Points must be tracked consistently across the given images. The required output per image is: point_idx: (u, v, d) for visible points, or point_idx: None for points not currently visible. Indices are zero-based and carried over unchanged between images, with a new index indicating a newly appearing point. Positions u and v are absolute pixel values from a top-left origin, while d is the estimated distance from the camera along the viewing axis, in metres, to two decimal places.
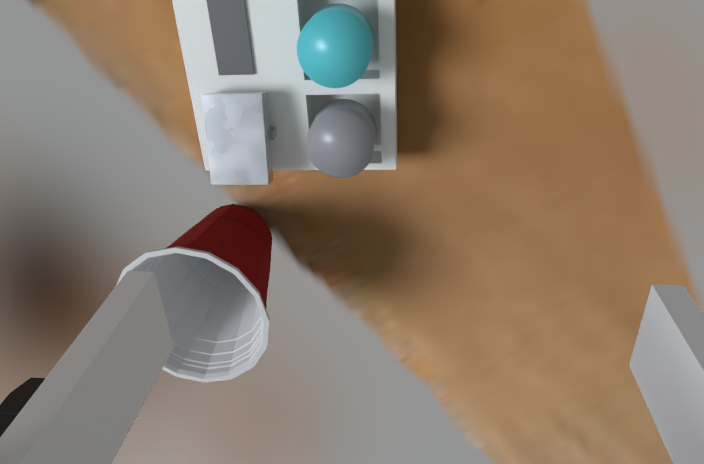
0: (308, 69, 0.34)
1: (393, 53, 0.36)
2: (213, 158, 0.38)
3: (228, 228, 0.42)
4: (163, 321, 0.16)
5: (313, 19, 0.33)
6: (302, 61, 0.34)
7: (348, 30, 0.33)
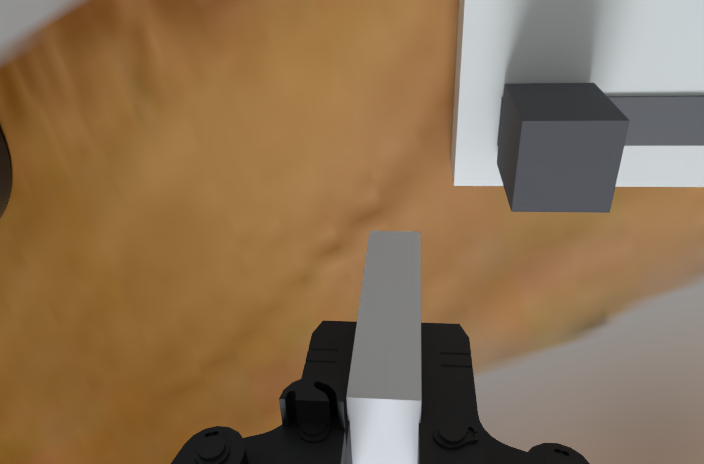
0: None
1: None
2: None
3: None
4: None
5: None
6: None
7: None
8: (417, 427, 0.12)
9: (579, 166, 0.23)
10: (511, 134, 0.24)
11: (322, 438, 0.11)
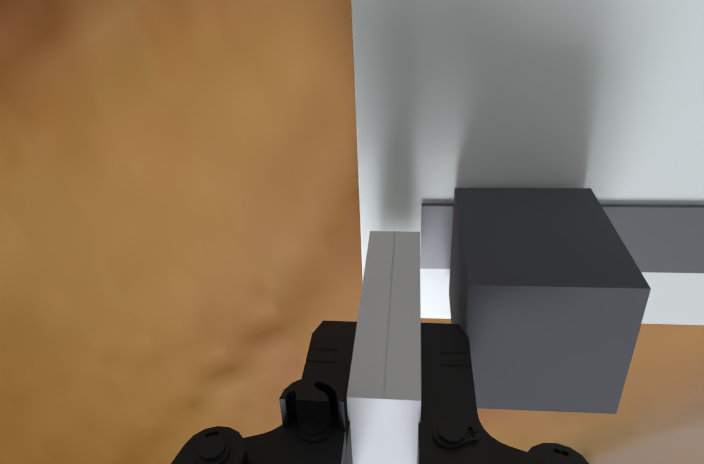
0: None
1: None
2: None
3: None
4: None
5: None
6: None
7: None
8: (417, 427, 0.12)
9: (566, 350, 0.14)
10: (459, 281, 0.15)
11: (322, 438, 0.11)
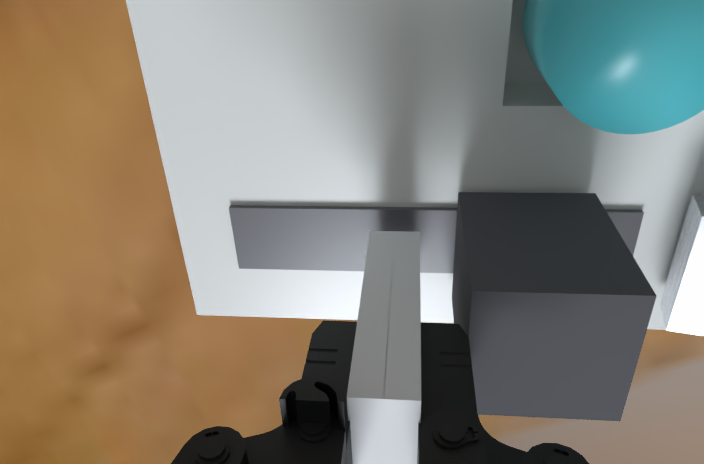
0: (682, 109, 0.13)
1: None
2: None
3: None
4: None
5: (555, 86, 0.13)
6: (657, 123, 0.13)
7: None
8: (417, 427, 0.12)
9: (571, 358, 0.14)
10: (463, 286, 0.15)
11: (322, 438, 0.11)
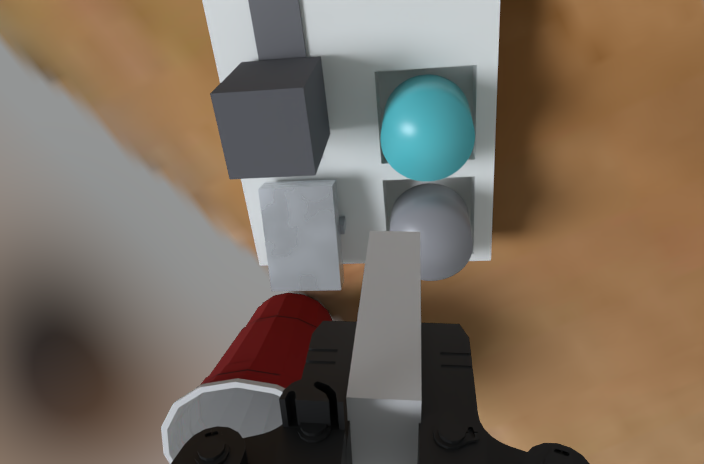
0: (394, 160, 0.27)
1: (493, 130, 0.29)
2: (274, 261, 0.32)
3: (290, 334, 0.35)
4: None
5: (402, 102, 0.26)
6: (386, 152, 0.27)
7: (447, 114, 0.26)
8: (417, 427, 0.12)
9: (268, 145, 0.25)
10: (282, 76, 0.25)
11: (322, 438, 0.11)
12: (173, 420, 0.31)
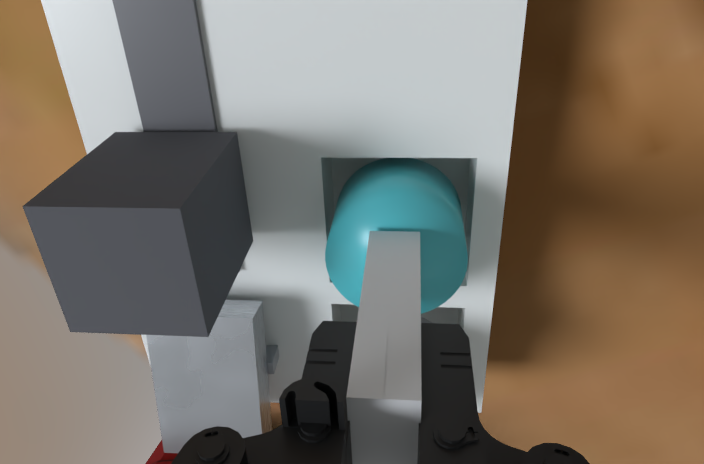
0: (346, 286, 0.18)
1: (496, 249, 0.20)
2: (167, 413, 0.22)
3: None
4: None
5: (359, 208, 0.17)
6: (334, 274, 0.18)
7: (427, 230, 0.17)
8: (417, 427, 0.12)
9: (127, 290, 0.15)
10: (159, 173, 0.15)
11: (322, 438, 0.11)
12: None
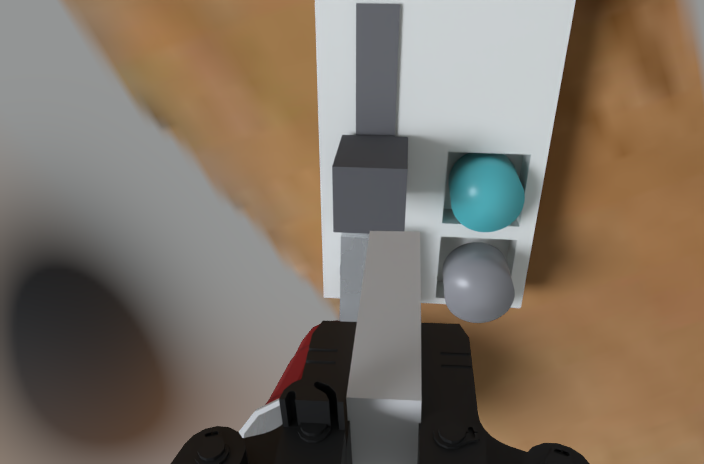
0: (459, 214, 0.35)
1: (537, 205, 0.36)
2: (345, 296, 0.38)
3: None
4: None
5: (473, 172, 0.34)
6: (454, 207, 0.35)
7: (506, 184, 0.34)
8: (417, 427, 0.12)
9: (370, 209, 0.31)
10: (384, 154, 0.32)
11: (322, 438, 0.11)
12: (251, 426, 0.37)
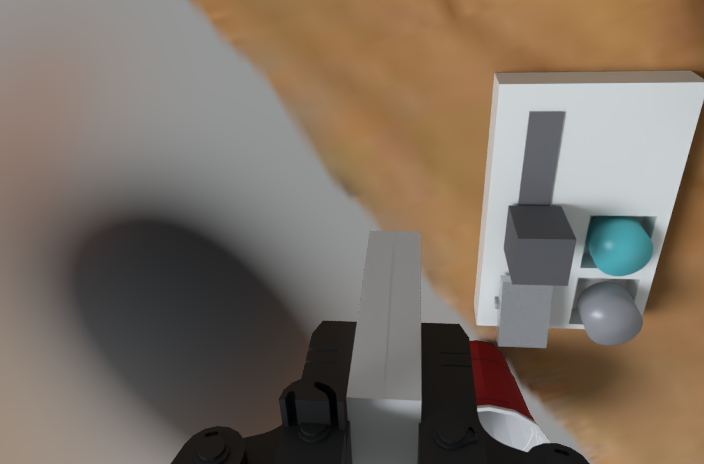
0: (599, 263, 0.45)
1: (659, 253, 0.46)
2: (504, 327, 0.48)
3: (496, 373, 0.51)
4: None
5: (613, 232, 0.44)
6: (596, 258, 0.45)
7: (639, 241, 0.44)
8: (417, 427, 0.12)
9: (543, 268, 0.41)
10: (551, 225, 0.42)
11: (322, 438, 0.11)
12: None
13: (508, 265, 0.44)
